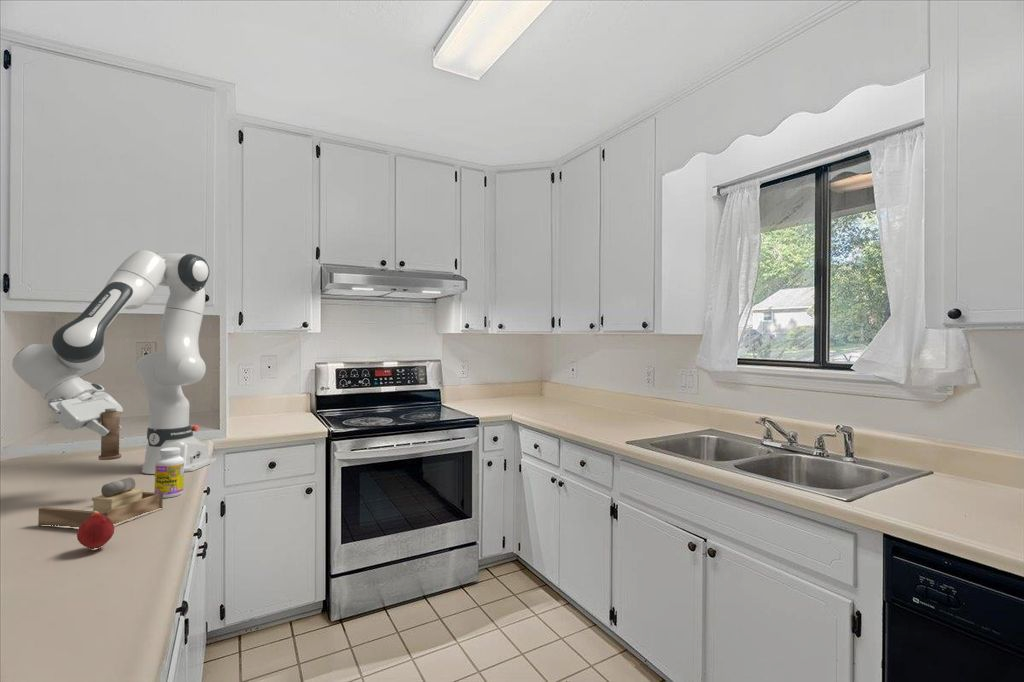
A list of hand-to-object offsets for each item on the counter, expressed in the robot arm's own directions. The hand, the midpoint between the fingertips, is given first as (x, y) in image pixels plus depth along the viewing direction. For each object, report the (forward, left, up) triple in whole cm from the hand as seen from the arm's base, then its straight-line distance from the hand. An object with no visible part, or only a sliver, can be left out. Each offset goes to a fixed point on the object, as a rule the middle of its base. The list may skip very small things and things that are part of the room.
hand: (113, 432), depth 135 cm
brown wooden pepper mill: (0, -1, -7) cm, 7 cm away
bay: (+12, +11, -18) cm, 24 cm away
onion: (+28, +27, -18) cm, 43 cm away
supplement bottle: (-7, +11, -18) cm, 22 cm away
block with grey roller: (+12, +15, -18) cm, 26 cm away
